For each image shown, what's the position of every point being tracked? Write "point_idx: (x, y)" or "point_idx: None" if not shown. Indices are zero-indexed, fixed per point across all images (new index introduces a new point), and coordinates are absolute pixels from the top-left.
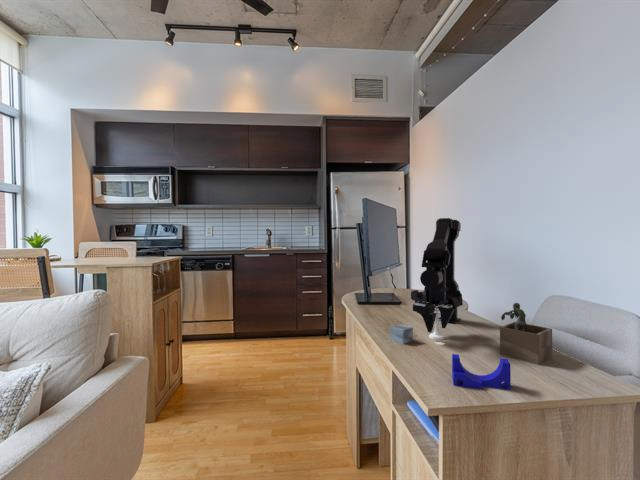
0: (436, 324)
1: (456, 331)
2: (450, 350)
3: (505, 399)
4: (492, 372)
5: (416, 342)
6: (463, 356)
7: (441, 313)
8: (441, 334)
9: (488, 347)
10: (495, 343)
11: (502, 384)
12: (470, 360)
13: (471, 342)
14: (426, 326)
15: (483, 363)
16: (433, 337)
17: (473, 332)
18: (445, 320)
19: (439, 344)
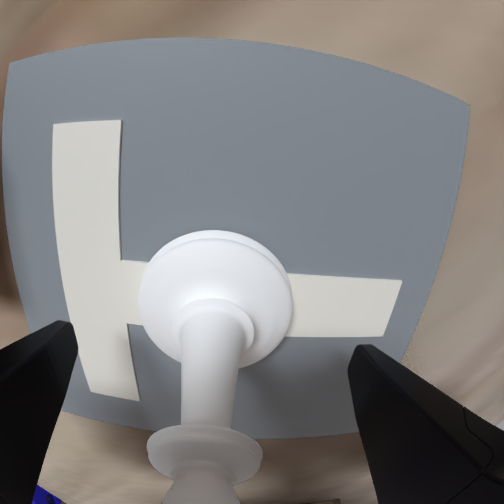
0: (184, 420)
1: (498, 289)
2: (89, 424)
3: None
4: (34, 502)
5: (4, 227)
6: (88, 459)
7: (461, 482)
8: (247, 351)
9: (282, 483)
10: (360, 471)
11: (49, 495)
12: (82, 471)
13: (311, 442)
14: (9, 351)
15: (101, 489)
16: (140, 314)
17: (499, 353)
18: (379, 452)
19: (87, 378)
